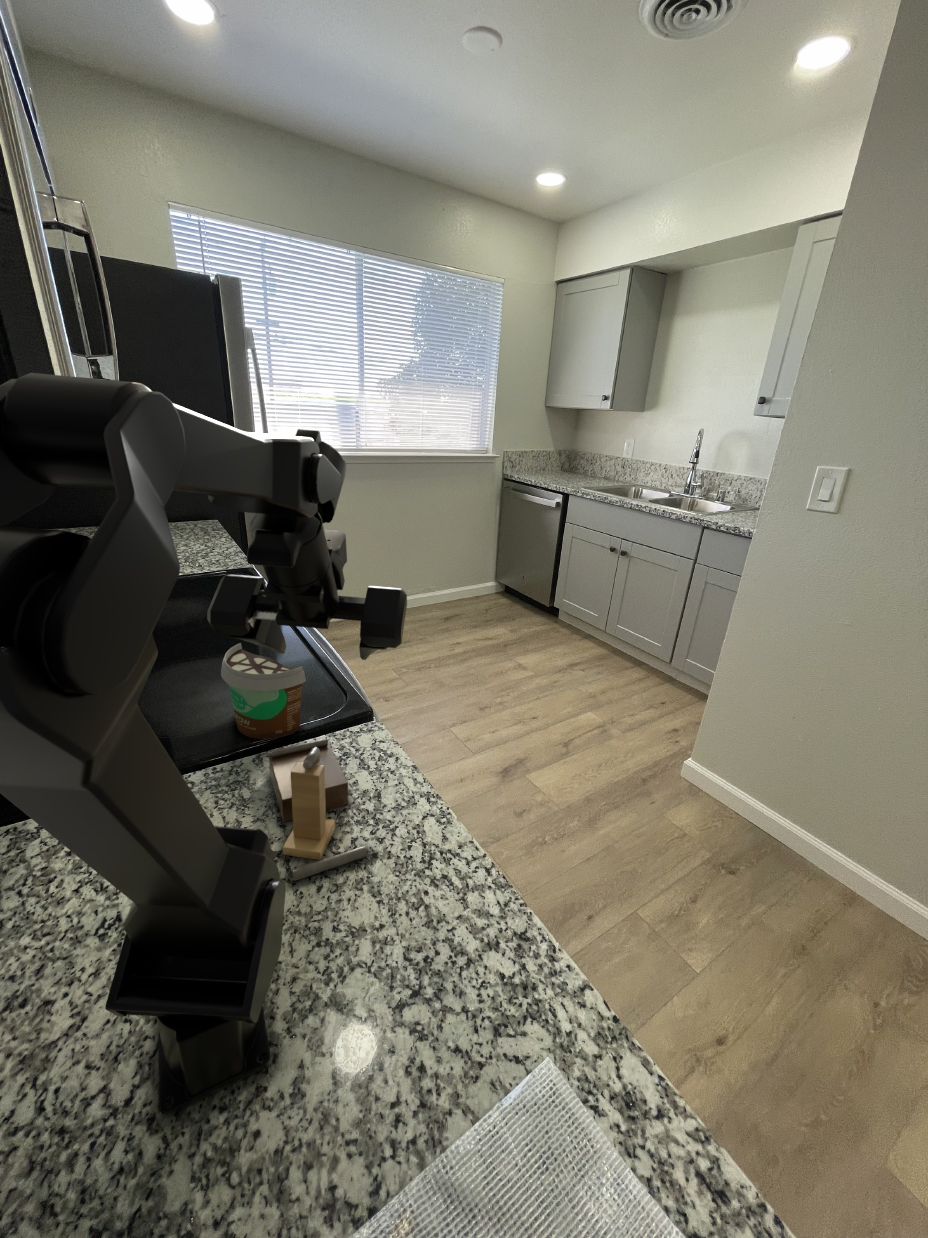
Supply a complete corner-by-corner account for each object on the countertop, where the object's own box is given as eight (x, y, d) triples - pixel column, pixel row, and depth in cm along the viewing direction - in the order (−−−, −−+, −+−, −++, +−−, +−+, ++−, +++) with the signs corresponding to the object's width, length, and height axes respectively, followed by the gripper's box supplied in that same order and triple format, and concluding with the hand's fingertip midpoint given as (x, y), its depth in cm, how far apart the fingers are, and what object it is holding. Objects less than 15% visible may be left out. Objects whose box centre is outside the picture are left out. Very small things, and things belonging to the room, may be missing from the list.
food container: (205, 724, 68) (197, 657, 65) (243, 704, 74) (237, 641, 70) (272, 756, 63) (267, 686, 60) (307, 733, 69) (305, 667, 65)
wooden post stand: (320, 860, 50) (318, 778, 46) (283, 855, 50) (277, 772, 46) (336, 825, 54) (335, 747, 50) (301, 820, 54) (298, 742, 51)
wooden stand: (371, 857, 51) (372, 827, 49) (294, 883, 47) (292, 853, 46) (329, 762, 63) (328, 736, 62) (265, 777, 60) (263, 750, 58)
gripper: (411, 508, 50) (413, 603, 63) (220, 492, 50) (261, 591, 62) (397, 598, 44) (402, 683, 56) (178, 580, 43) (233, 670, 56)
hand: (324, 653), depth 58 cm, fingers open, 9 cm apart
